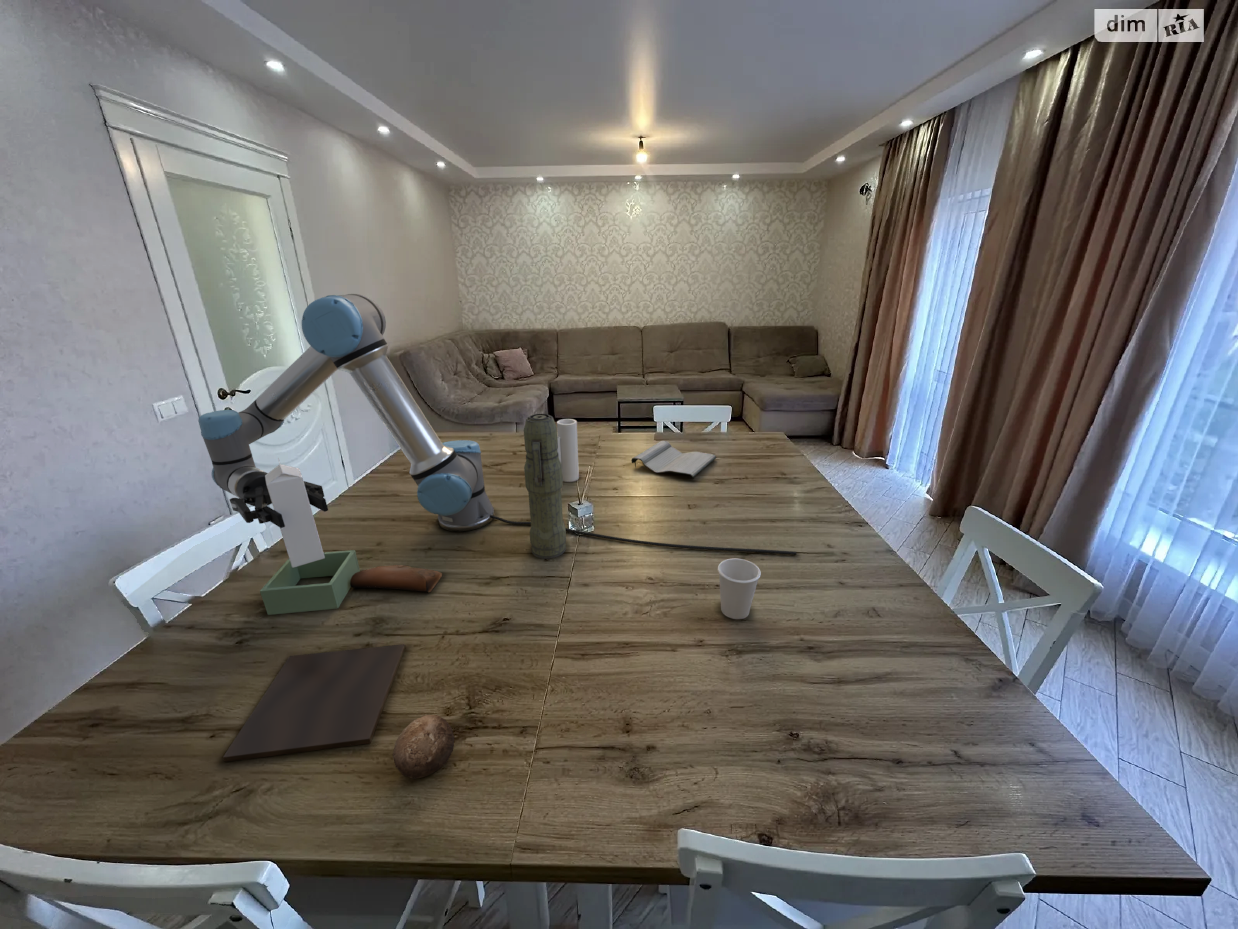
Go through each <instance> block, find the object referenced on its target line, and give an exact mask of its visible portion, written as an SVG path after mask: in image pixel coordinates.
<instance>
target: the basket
mask: <svg viewBox="0 0 1238 929" xmlns="http://www.w3.org/2000/svg"><path fill="white" fill-rule="evenodd" d="M323 553H324V556H325V558H324V559H321V560H317V561H314V562H311V563H307V564H304V565H300V566H297V567H294V568H292V565H291V562H290V559H289V558H288V559H287V560H286V561H284V563H283V564H282V565H281V566H280V568H279V569H278V570H277V571H276V572H275V573H274V574H273V575H272V577H271V578H270V579H269V580H268V581H267V582H266V583H265V584H264V585H263V587H262V588H261V589H260V590H259V593H260V595H261V598H262V601H263V605H264V607H265V610H266V613H267V615H268V616H272V615H283V614H291V613H292V614H293V613H294V614H295V613H305V612H316V611H317V612H318V611H326V610H327V611H328V610H337V609H339V608H340V606H341V605H342V603H343V601H344V599H345V597H346V596H347V595H348V593H349V591H350V589H351V588H352V587H351V585H350V581H351V578H352V576H353V575H354V574H355V573H357V572H360V571H361V569H360V564H359V560H358V556H357V552H356V550H355V549H352V550H351V549H349V550H335V551H326V552H324V551H323ZM322 577H323V578H325V577H332V578H331V580H330V581H329V582H324V583H313V584H301V585H297V584H298V583H299V582H300V580H301V579H311V578H322Z"/></svg>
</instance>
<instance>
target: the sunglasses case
mask: <svg viewBox="0 0 1238 929" xmlns="http://www.w3.org/2000/svg"><path fill="white" fill-rule="evenodd" d="M442 577H443V573H442V572H440V571H437V570H433V569H428V568H420V567H411V566H410V565H402V564H393V565H380V566H379V565H378V566H375V567H371V568H367V569H363V570H360V572H357V573H355V574H354V575H353V576H352V578H351V581H350V585H351V588H352V589H358V588H359V589H378V588H379V589H387V590H403V591H415V592H428V593H432V591H433V590H434V589H435V587H436V586H437V585H438V583H439V582H440V580H441V579H442Z"/></svg>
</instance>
